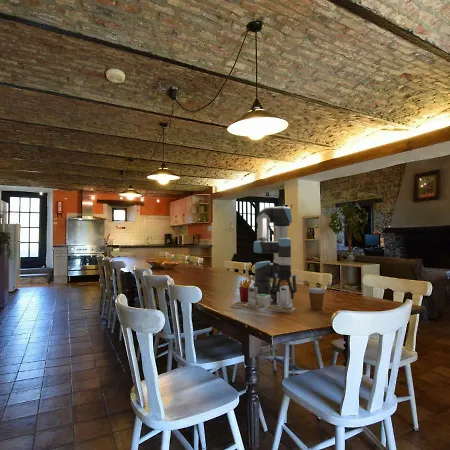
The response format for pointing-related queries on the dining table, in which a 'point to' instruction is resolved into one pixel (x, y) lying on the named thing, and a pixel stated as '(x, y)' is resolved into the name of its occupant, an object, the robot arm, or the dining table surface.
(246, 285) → the french fries
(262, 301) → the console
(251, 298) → the pallet
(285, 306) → the tote
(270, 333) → the dining table surface
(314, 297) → the disposable coffee cup
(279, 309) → the pallet
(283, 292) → the block
